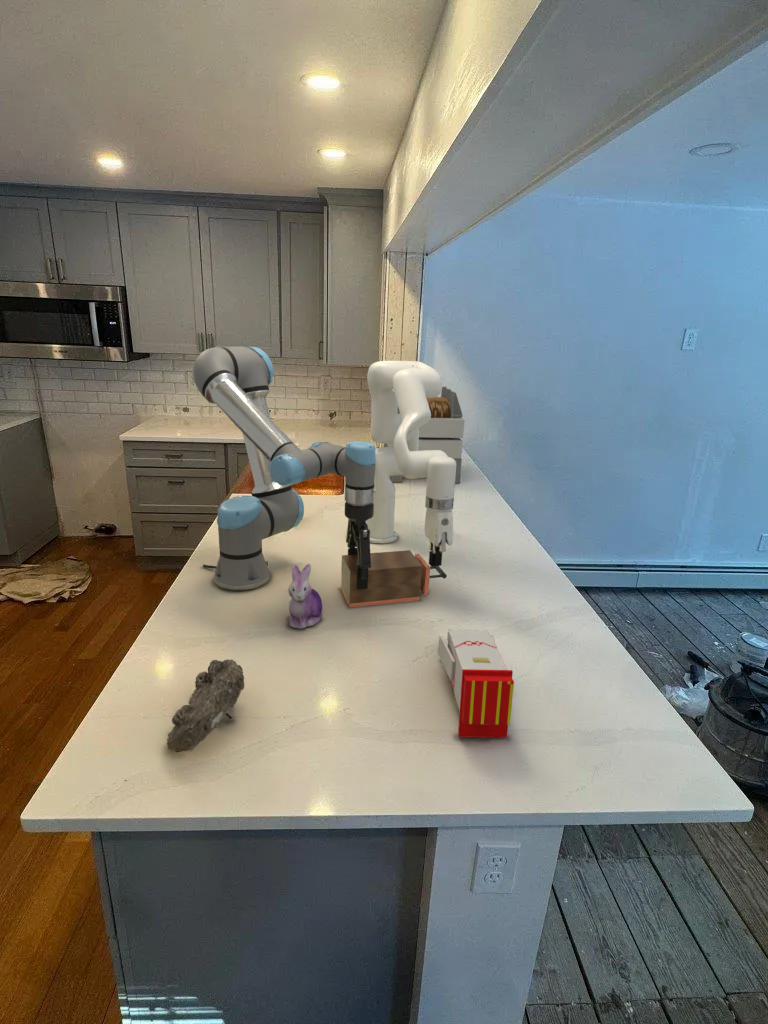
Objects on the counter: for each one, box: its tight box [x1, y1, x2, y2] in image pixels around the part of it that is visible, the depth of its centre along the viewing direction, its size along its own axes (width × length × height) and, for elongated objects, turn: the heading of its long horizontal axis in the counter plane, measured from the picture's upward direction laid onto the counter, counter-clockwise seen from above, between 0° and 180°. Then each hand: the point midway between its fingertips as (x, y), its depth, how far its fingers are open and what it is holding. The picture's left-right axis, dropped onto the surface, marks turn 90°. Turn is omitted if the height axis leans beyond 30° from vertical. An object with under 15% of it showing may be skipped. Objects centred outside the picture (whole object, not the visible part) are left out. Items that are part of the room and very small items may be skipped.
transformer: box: [383, 386, 465, 484], centre depth 268 cm, size 34×33×41 cm
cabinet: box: [340, 549, 422, 608], centre depth 155 cm, size 20×11×10 cm, turn 106°
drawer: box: [414, 553, 448, 596], centre depth 157 cm, size 24×9×8 cm, turn 106°
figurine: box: [288, 563, 323, 629], centre depth 140 cm, size 9×10×15 cm
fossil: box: [166, 658, 245, 754], centre depth 106 cm, size 22×10×15 cm
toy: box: [437, 628, 515, 738], centre depth 117 cm, size 12×13×30 cm
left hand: (357, 579), depth 153 cm, fingers closed on cabinet, 11 cm apart
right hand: (435, 564), depth 158 cm, fingers closed
